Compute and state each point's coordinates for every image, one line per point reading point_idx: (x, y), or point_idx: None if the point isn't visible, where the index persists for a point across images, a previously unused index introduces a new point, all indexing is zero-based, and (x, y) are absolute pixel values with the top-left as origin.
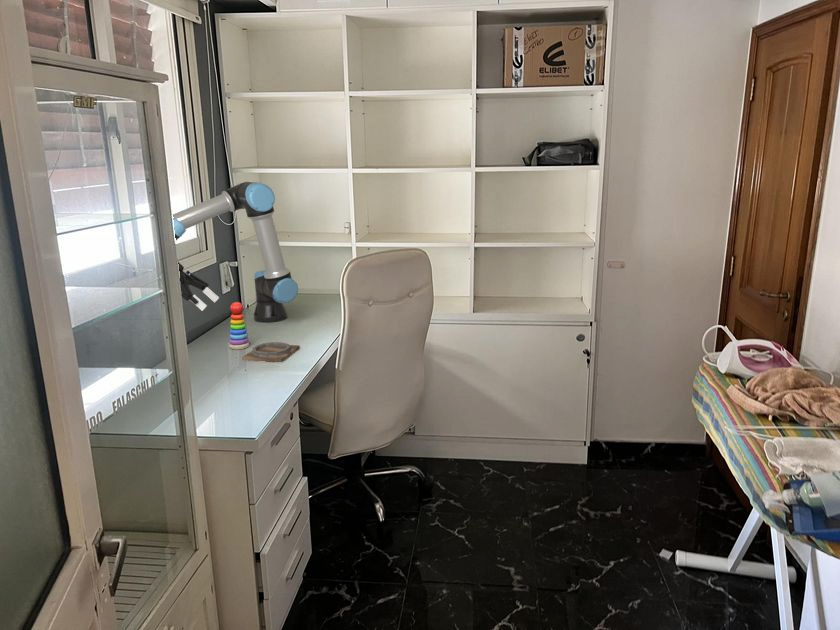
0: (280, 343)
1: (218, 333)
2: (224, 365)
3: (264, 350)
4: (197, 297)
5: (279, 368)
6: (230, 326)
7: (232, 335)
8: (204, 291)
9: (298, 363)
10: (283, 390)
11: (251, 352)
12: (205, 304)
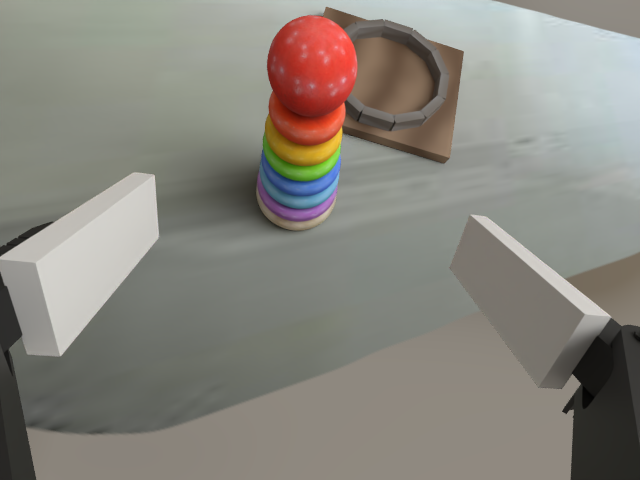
0: None
1: None
2: (494, 208)
3: (376, 98)
4: (550, 278)
5: (501, 61)
6: (318, 175)
7: (331, 186)
8: (69, 320)
9: (459, 21)
10: (633, 49)
11: (397, 134)
12: (482, 222)
